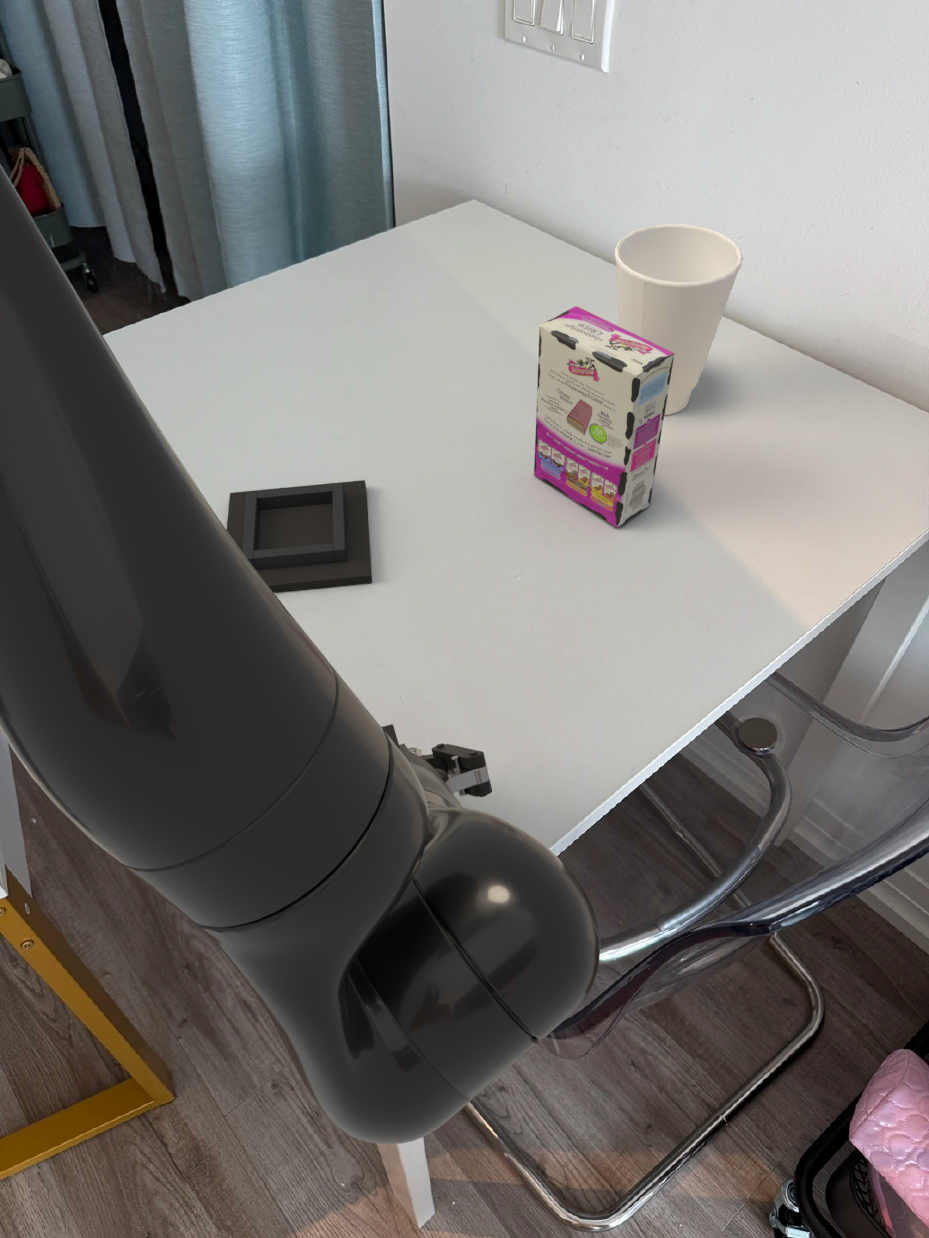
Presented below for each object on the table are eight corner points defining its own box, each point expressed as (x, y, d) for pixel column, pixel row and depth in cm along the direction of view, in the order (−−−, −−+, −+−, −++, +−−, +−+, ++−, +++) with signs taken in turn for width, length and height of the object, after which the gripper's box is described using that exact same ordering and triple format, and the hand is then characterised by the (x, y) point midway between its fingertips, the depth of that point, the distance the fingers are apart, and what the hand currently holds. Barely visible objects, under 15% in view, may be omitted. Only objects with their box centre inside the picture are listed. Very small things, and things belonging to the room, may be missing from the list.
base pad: (223, 598, 79) (216, 578, 77) (231, 500, 88) (226, 480, 86) (371, 583, 80) (368, 563, 78) (366, 487, 88) (363, 467, 86)
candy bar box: (653, 505, 85) (679, 352, 73) (617, 531, 83) (638, 377, 71) (566, 452, 91) (576, 301, 79) (531, 475, 89) (536, 323, 77)
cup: (733, 390, 97) (766, 246, 85) (674, 444, 91) (701, 298, 79) (640, 353, 102) (658, 212, 90) (578, 401, 97) (589, 258, 85)
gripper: (509, 728, 47) (454, 690, 63) (231, 801, 44) (250, 741, 61) (541, 867, 47) (477, 793, 64) (267, 946, 45) (276, 848, 62)
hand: (366, 768), depth 62 cm, fingers closed on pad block, 4 cm apart
